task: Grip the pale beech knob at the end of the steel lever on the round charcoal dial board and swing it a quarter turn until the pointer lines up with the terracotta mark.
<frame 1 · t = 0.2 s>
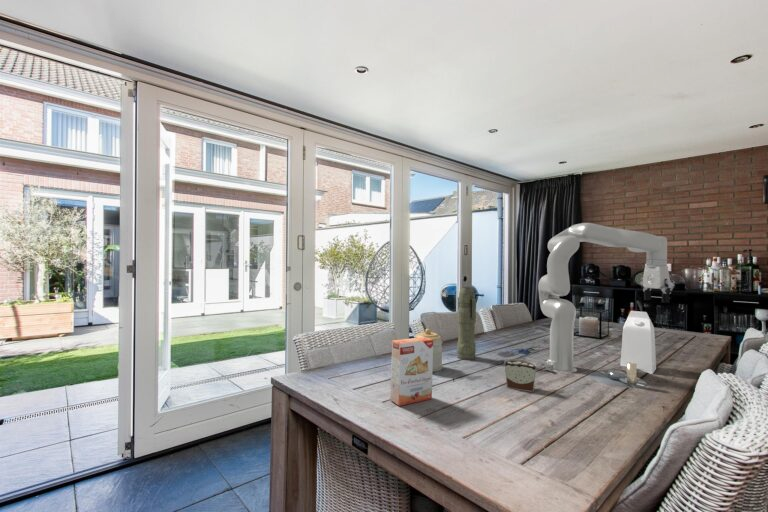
hand: (656, 301, 168), 31 cm above the table, fingers open, 9 cm apart
jar: (427, 368, 165), on the table
milk: (638, 368, 169), on the table
thermos: (466, 357, 184), on the table
lever: (622, 370, 146), point 6 cm above the table, hinge at -90.0°
food container: (520, 387, 142), on the table
cracker box: (411, 400, 127), on the table
dial board: (616, 382, 149), on the table
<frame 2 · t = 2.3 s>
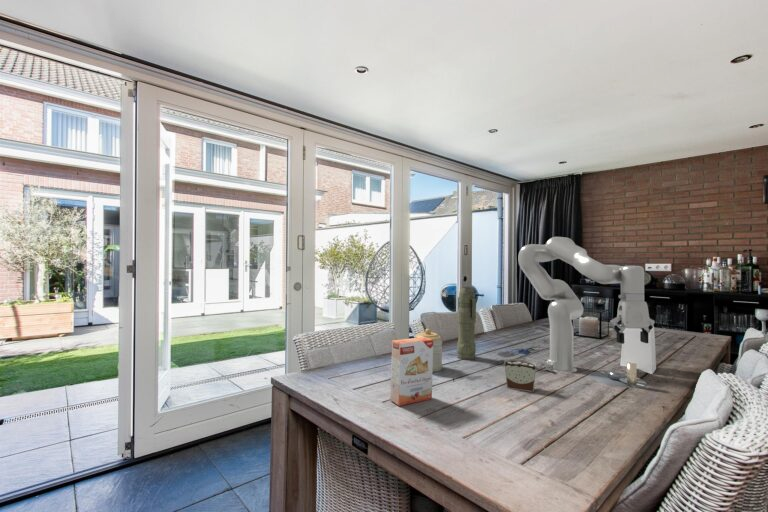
hand: (632, 342, 141), 18 cm above the table, fingers open, 9 cm apart
nothing on the table moved.
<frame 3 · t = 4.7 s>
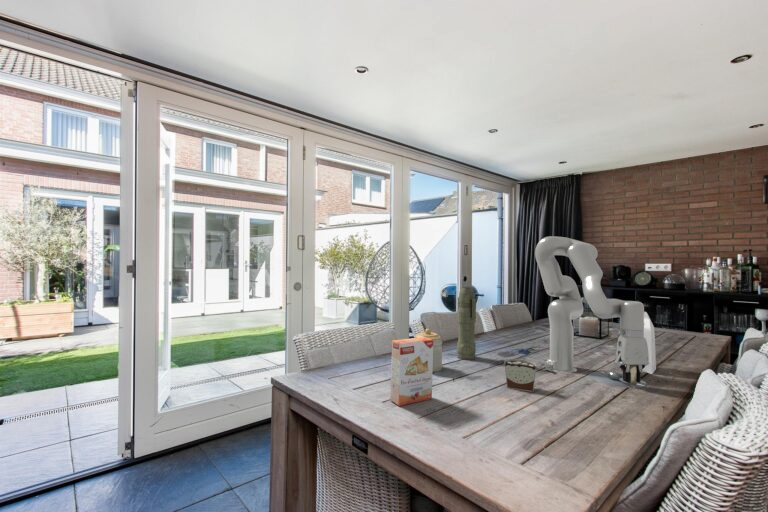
hand: (631, 381, 141), 3 cm above the table, fingers closed on lever, 3 cm apart
lever: (622, 370, 146), point 6 cm above the table, hinge at -90.0°, touching gripper
everything else where it was.
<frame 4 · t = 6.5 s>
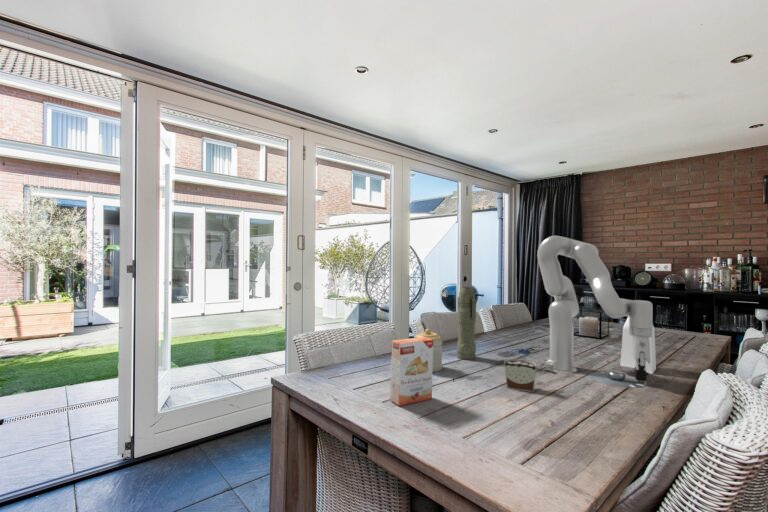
hand: (640, 378, 145), 3 cm above the table, fingers open, 3 cm apart
lever: (626, 369, 147), point 6 cm above the table, hinge at -40.2°, touching gripper
everything else where it was.
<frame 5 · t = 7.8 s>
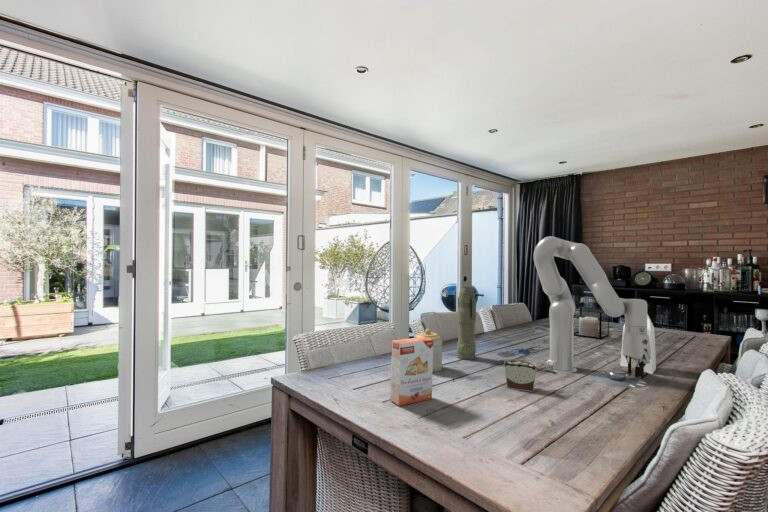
hand: (635, 374, 150), 3 cm above the table, fingers closed on lever, 3 cm apart
lever: (624, 367, 149), point 6 cm above the table, hinge at -2.2°, touching gripper
everything else where it was.
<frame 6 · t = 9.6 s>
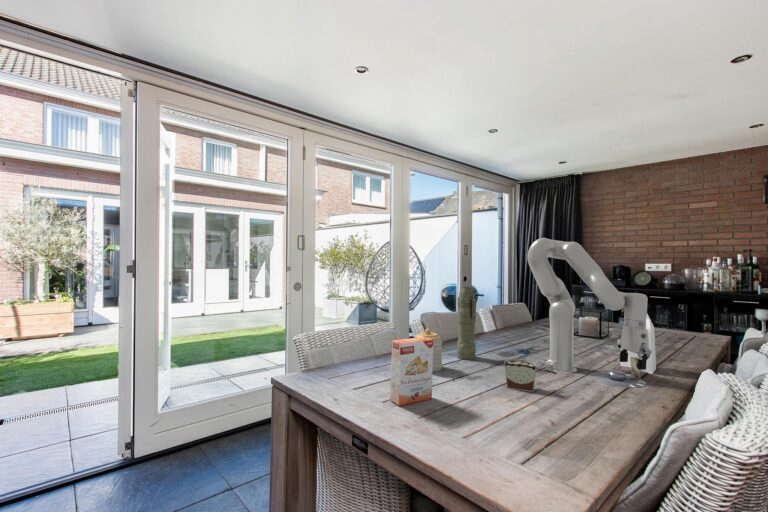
hand: (632, 365, 150), 6 cm above the table, fingers open, 9 cm apart
lever: (624, 367, 149), point 6 cm above the table, hinge at -0.8°
everything else where it was.
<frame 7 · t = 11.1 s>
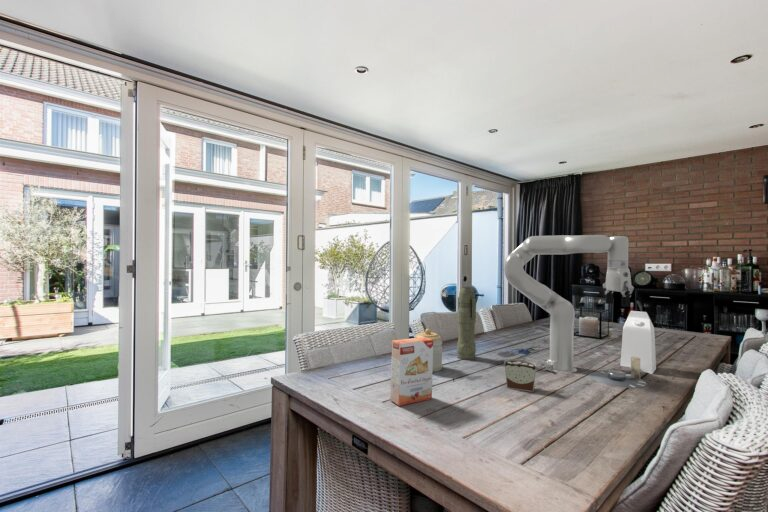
hand: (617, 305, 158), 30 cm above the table, fingers open, 9 cm apart
nothing on the table moved.
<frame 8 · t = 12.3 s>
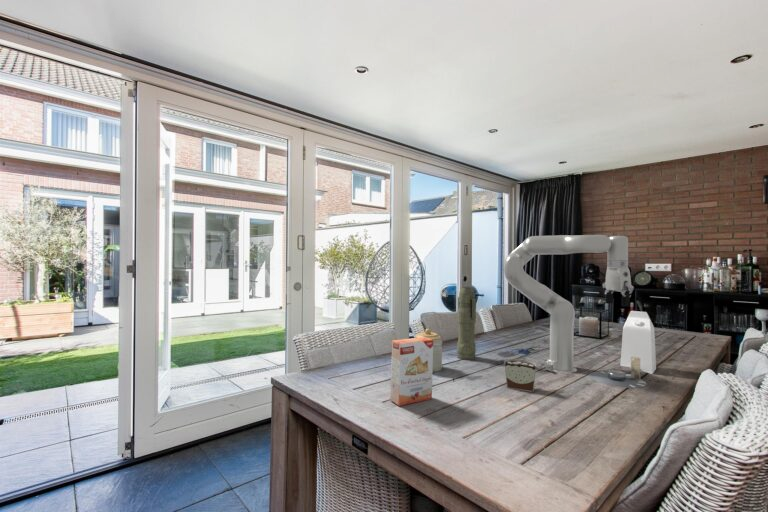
hand: (617, 304, 158), 30 cm above the table, fingers open, 9 cm apart
nothing on the table moved.
at the end: lever at -1° (first picture: -90°); the gripper is holding nothing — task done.
